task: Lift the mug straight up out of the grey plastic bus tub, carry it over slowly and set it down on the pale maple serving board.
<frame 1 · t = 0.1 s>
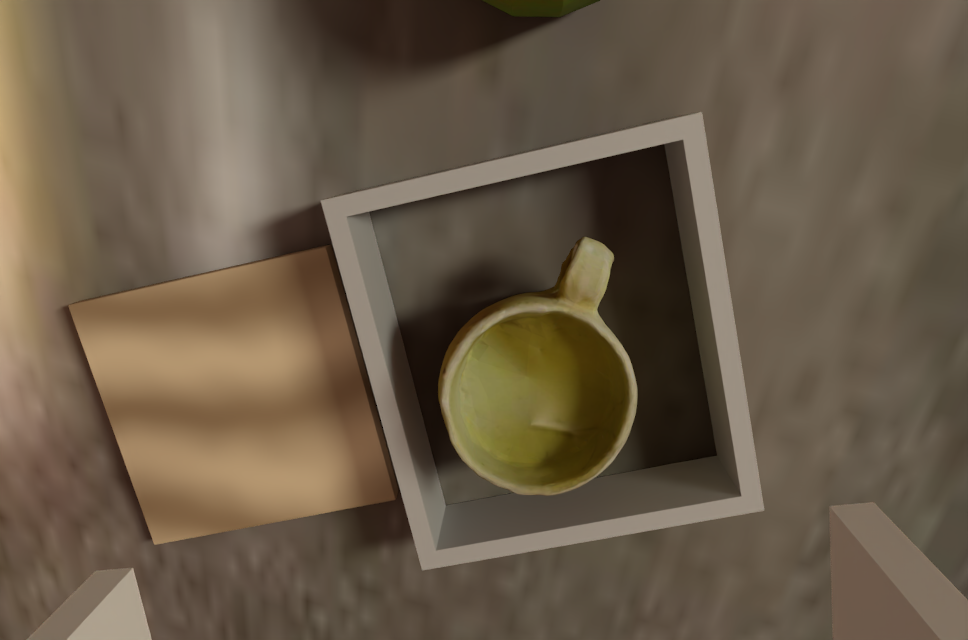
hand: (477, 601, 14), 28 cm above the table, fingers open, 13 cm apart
mug: (547, 333, 42), resting in tub
board: (242, 397, 43), on the table
tub: (547, 334, 41), on the table
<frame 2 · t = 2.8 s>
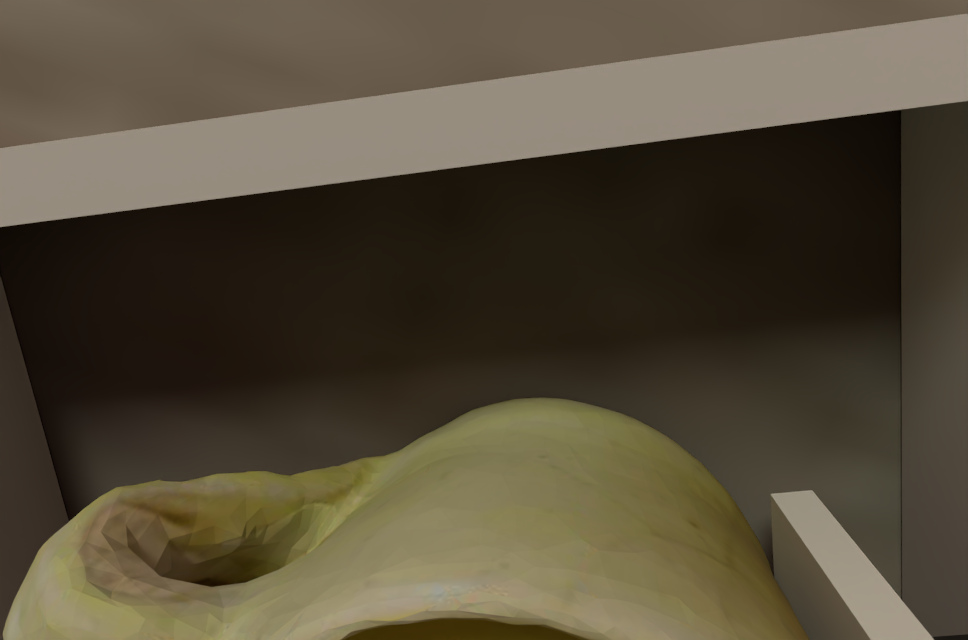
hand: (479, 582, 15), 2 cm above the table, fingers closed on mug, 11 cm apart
mug: (468, 531, 17), resting in tub, touching gripper
tub: (475, 537, 16), on the table
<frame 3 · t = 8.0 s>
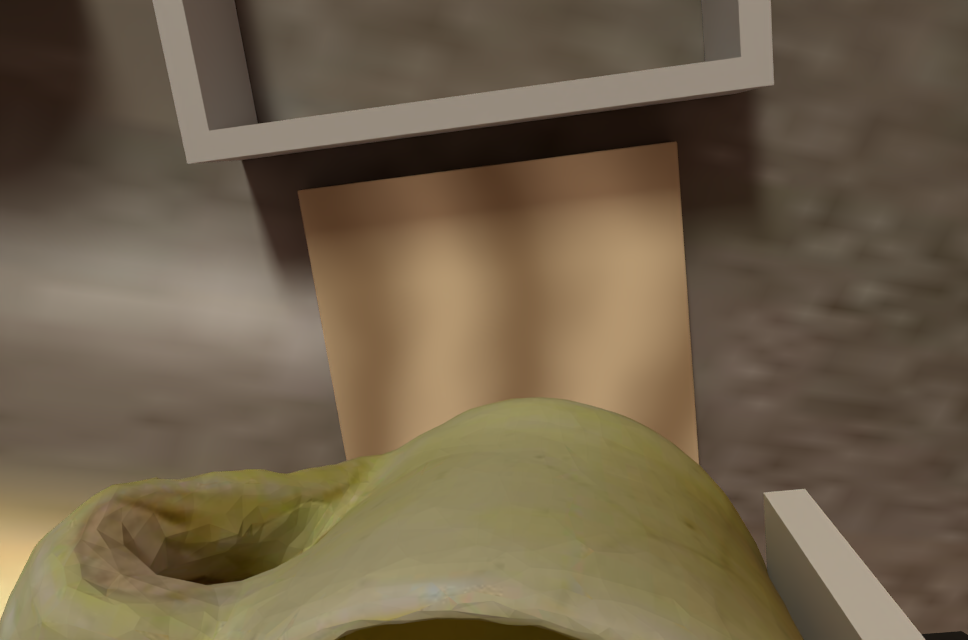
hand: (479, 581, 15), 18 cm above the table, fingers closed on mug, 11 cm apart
mug: (464, 530, 17), point 16 cm above the table, touching gripper
board: (506, 342, 32), on the table
when the fingers open (3 cm above the table, at t = 13.1 s): mug stays where it is, resting on board.
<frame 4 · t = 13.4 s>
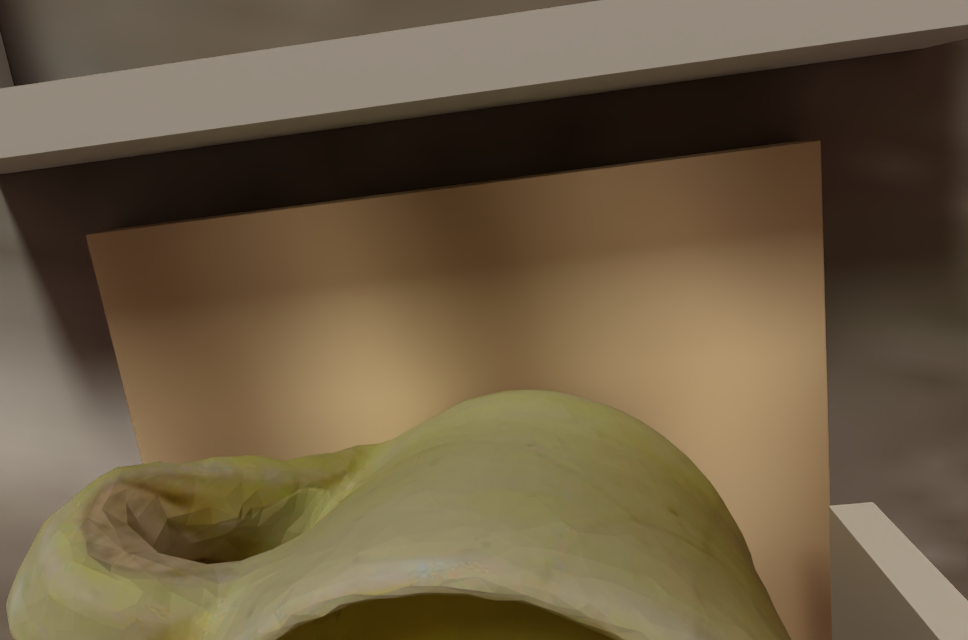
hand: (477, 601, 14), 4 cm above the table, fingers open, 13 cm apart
mug: (459, 519, 17), point 1 cm above the table, touching board
board: (487, 501, 18), on the table
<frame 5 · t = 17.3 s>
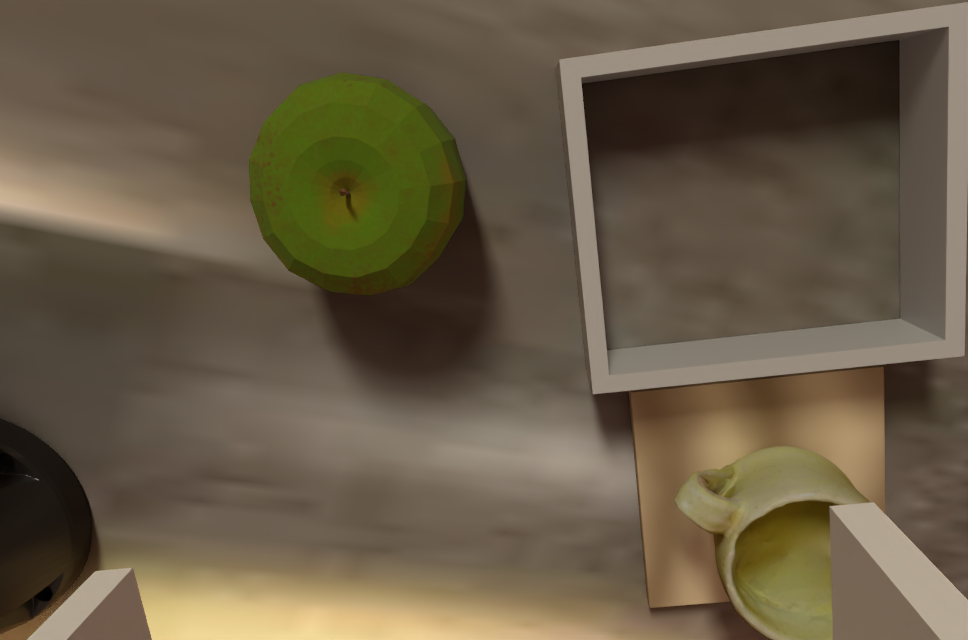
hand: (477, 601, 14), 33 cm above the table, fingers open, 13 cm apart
mug: (750, 491, 47), point 1 cm above the table, touching board
board: (755, 484, 48), on the table
apple: (382, 181, 45), on the table
tub: (741, 204, 44), on the table
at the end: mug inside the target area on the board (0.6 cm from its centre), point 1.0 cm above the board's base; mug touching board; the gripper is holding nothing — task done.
